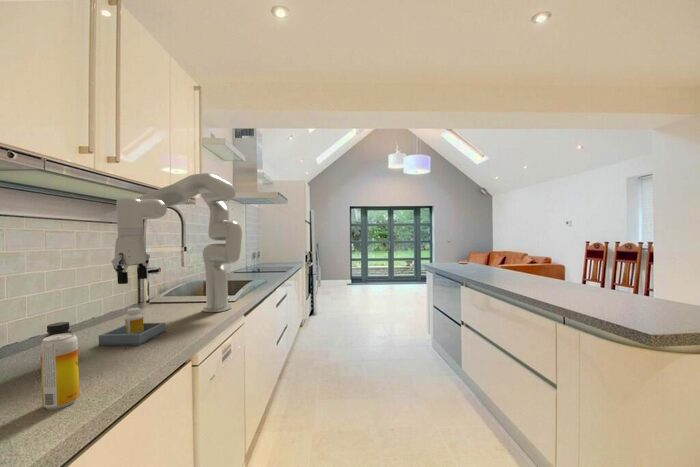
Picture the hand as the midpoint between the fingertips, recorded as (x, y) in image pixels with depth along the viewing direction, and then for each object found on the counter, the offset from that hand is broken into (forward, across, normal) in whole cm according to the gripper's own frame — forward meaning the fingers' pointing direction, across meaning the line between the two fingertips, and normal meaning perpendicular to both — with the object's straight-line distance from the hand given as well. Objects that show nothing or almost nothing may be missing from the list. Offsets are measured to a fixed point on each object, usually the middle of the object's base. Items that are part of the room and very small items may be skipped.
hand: (133, 281), depth 113 cm
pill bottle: (+20, +43, +14) cm, 49 cm away
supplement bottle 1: (+20, +23, -6) cm, 31 cm away
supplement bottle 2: (+20, 0, 0) cm, 20 cm away
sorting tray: (+20, +1, 0) cm, 21 cm away
